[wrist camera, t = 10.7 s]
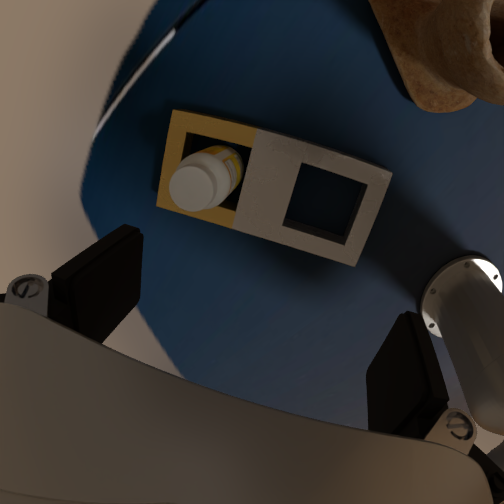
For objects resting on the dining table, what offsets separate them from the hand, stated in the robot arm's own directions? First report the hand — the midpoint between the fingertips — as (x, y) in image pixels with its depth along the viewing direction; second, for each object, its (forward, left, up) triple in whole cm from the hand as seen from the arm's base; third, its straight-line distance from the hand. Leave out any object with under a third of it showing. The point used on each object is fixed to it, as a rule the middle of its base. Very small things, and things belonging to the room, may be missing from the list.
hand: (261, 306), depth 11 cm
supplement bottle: (+8, +3, -26) cm, 27 cm away
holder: (+2, +3, -25) cm, 26 cm away
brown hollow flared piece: (-10, -18, -26) cm, 33 cm away
